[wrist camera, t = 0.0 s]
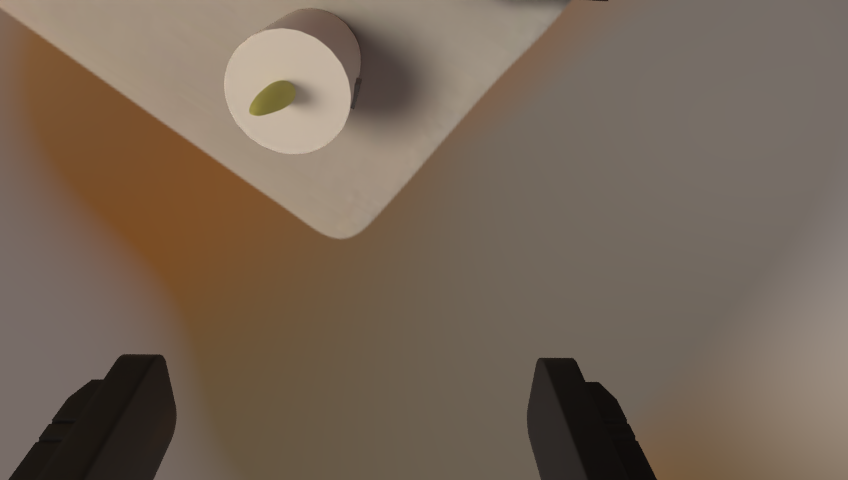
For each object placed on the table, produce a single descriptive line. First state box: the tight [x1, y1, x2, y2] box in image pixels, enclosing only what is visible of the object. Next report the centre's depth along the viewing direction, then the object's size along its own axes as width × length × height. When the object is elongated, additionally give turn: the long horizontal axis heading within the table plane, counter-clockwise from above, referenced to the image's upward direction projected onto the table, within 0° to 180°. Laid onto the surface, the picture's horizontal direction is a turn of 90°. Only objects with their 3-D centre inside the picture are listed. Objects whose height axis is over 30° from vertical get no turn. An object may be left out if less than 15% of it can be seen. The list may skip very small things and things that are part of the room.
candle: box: [224, 8, 362, 154], centre depth 30 cm, size 6×6×15 cm
